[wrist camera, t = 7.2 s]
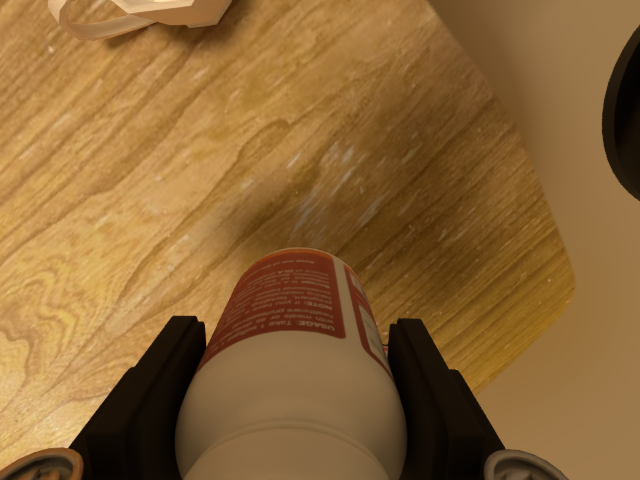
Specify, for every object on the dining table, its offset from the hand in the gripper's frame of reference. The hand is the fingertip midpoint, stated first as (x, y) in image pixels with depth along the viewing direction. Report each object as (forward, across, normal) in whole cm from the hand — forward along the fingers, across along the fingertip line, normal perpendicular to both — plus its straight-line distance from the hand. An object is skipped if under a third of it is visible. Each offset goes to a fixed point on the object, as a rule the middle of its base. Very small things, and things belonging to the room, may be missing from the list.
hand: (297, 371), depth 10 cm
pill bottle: (+4, 0, 0) cm, 4 cm away
